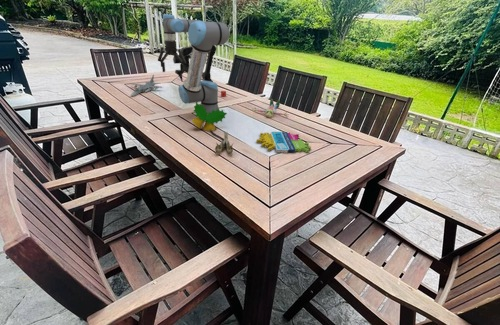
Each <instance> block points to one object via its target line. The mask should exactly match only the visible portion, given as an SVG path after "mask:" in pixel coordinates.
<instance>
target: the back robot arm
mask: <svg viewBox="0 0 500 325" xmlns="http://www.w3.org/2000/svg"><path fill="white" fill-rule="evenodd" d="M216 46H217V45H213V46H212V49H211V51H210V52H208V53H207V58H206V62H205V67H204V71H203V74H202V78H201V80H202V81H211V82H214V81H213V79H212V75H211V70H212V63H213V59H214V56H215V54H216V51H217V47H216ZM180 49H181V52H182V54H183V56H184V58H185V60H186V63H185V64H184V69H183V74H184V73H185V74H188V70H189V64H190V59H191V55H190V54H192V49H193V48H192V46H191V45H189V46H183V47H181V48H180ZM178 56H179V57H180V55H179V54H178ZM180 58H181V57H180ZM172 62H173V64H181V63H180V62H179V60H178V59H177V58H176V57H175V56H174V55H173V58H172ZM174 73H175V74H176V75H178V77H179V79H180V81H181V82H184V79H183V74H181V71H180V69H175V70H174Z"/></svg>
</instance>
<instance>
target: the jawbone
mask: <svg viewBox="0 0 500 325" xmlns="http://www.w3.org/2000/svg"><path fill="white" fill-rule="evenodd" d="M223 135H224V136H223V139H224V140H222V139H221V142H220V144H218V142H215V144H216V146H215V148H214V149H215V152H214V154H215V155H217V156H218V155H220V153H221V152H223V151H224V150H226V152H227V153H228V155H229V156H233V155H234V154H233V153H234V148H233V144H234V143H230V140H228V139H229V138H228V137H229V136H228V135H229V133H228V131H226V132H224V134H223Z"/></svg>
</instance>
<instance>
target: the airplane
mask: <svg viewBox="0 0 500 325" xmlns="http://www.w3.org/2000/svg"><path fill="white" fill-rule="evenodd" d="M154 78H155V74H152V76H151V78H150V80H149V81H144V83H145V84H139V83H133V82H132V83H130V85H134V86H133V87H132V88H133V89H135V88H136V89H135V90H134V91H132V92H131V94H130V95H129V96H128V97H135V96H137V95H139V94H141V93H148V92H150V91H151V90H153V91H156V90H158V88H161V86H159V85H160V84H161V83H160V82H155V81H154Z"/></svg>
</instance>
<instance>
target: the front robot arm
mask: <svg viewBox="0 0 500 325" xmlns="http://www.w3.org/2000/svg"><path fill="white" fill-rule="evenodd" d="M162 25H163V37H164V46H162V47H160V53H159V55H158V58H157V62H160V67H161V69H162V70H161V71H162V73H166V65H165V64H166V63H165V60H166V58H168V56H173V57H174V56H175V57H176V58H177V59H178V60H179V62H180V63H179V70H180V71H181V74H182V75H183V74H184V73H183V69H184V64H185V63H186V60H185V58H184V56H183V54H182V52H181V48H177V47H178V46H177V41H176V40H177V34H178V33H179V34H180V33H187V40H188V42H189V44H190V46H192V48H193V49H192V52H191V53H190V54H191V55H190V56H191V58H189V70H188V73H187V75H186V79H184V80H183V83H182V84H180V85H179V86H178V94H179V98H180V100H181V102H182V103H183V104H196V102H197V103H200V104H201V106H204V109H206V112H208V113H211V112H212V110H214V111H216V110H217V109H219V111H221V110H220V108H219V102H218V99H219V98H218V97H219V87H218V84H217V83H216V82H214V81H213V82H211V81H204V80H202V74H203V72H204V71H205V67H206V63H207V58H208V52H210V51H211V49H212V46H213V45H214V46H222V45H225V44H226V43H227V42H228V40H229V39H230V35H231V33H230V29H229V27H228V26H227V25H226V24H225V23H223V22H220V21H203V20H199V19H187V18H186V19H185V18H175V15H174V14H167V13H166V14H165V13H163V15H162ZM178 55H180V57H181V58H180V57H179V56H178ZM208 113H207V115H208ZM209 132H210V133H211V134H212V135H214V136H216V137H217V138H219V139H221V141H222V140H223V141H224V137H222V136H220V135H218V134H216V133H214V131H211V130H210V131H209Z"/></svg>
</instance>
